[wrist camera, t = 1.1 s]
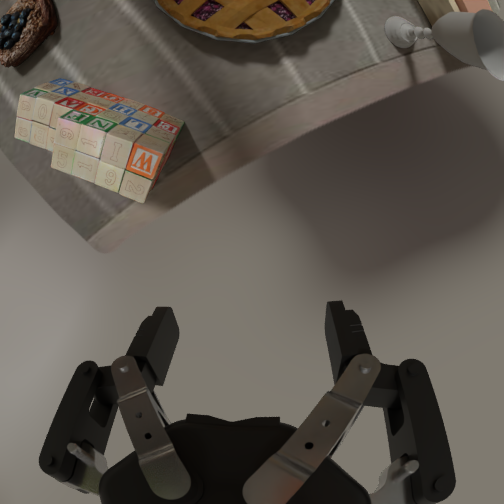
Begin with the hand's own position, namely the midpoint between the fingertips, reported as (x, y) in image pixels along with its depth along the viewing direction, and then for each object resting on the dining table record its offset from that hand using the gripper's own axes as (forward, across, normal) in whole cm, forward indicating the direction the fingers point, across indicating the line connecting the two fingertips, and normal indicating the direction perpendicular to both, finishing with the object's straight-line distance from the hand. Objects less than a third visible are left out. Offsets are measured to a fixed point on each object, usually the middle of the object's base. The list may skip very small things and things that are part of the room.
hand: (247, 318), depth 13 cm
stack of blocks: (+24, +19, -14) cm, 34 cm away
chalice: (+24, -21, -23) cm, 39 cm away
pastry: (+18, +30, -34) cm, 49 cm away
